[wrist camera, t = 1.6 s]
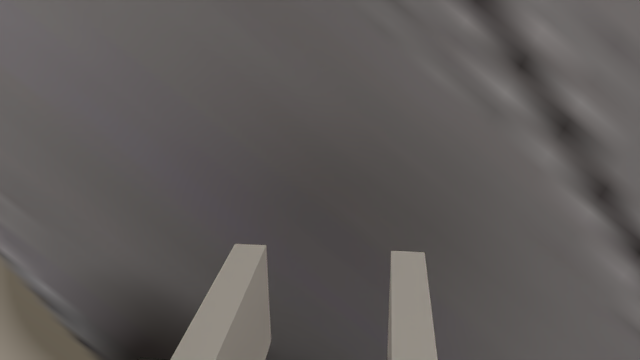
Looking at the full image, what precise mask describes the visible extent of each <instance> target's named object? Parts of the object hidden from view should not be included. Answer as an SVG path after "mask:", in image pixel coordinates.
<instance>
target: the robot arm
mask: <svg viewBox="0 0 640 360" xmlns="http://www.w3.org/2000/svg"><path fill="white" fill-rule="evenodd" d="M270 343H271V327H270V308H269V289H268V270H267V250H266V245H249V244H235V245H234V246H233V248H232V250H231V252H230V254H229V255H228V257H227V259H226V261H225V263H224V264H223V266H222V268H221V270H220V272H219V273H218V275H217V277H216V279H215V281H214V282H213V284H212V286H211V288H210V290H209V291H208V293H207V295H206V297H205V298H204V300H203V302H202V304H201V306H200V307H199V309H198V311H197V313H196V315H195V316H194V318H193V320H192V322H191V324H190V325H189V327H188V329H187V331H186V333H185V334H184V336H183V338H182V340H181V342H180V343H179V345H178V347H177V349H176V350H175V352H174V354H173V356H172V358H171V359H170V360H265V359H266V356H267V353H268V350H269V347H270ZM138 360H165V359H151V358H139V359H138ZM387 360H438V359H437V351H436V342H435V334H434V326H433V318H432V310H431V301H430V293H429V285H428V277H427V269H426V260H425V252H407V251H391V268H390V295H389V321H388V348H387Z"/></svg>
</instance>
